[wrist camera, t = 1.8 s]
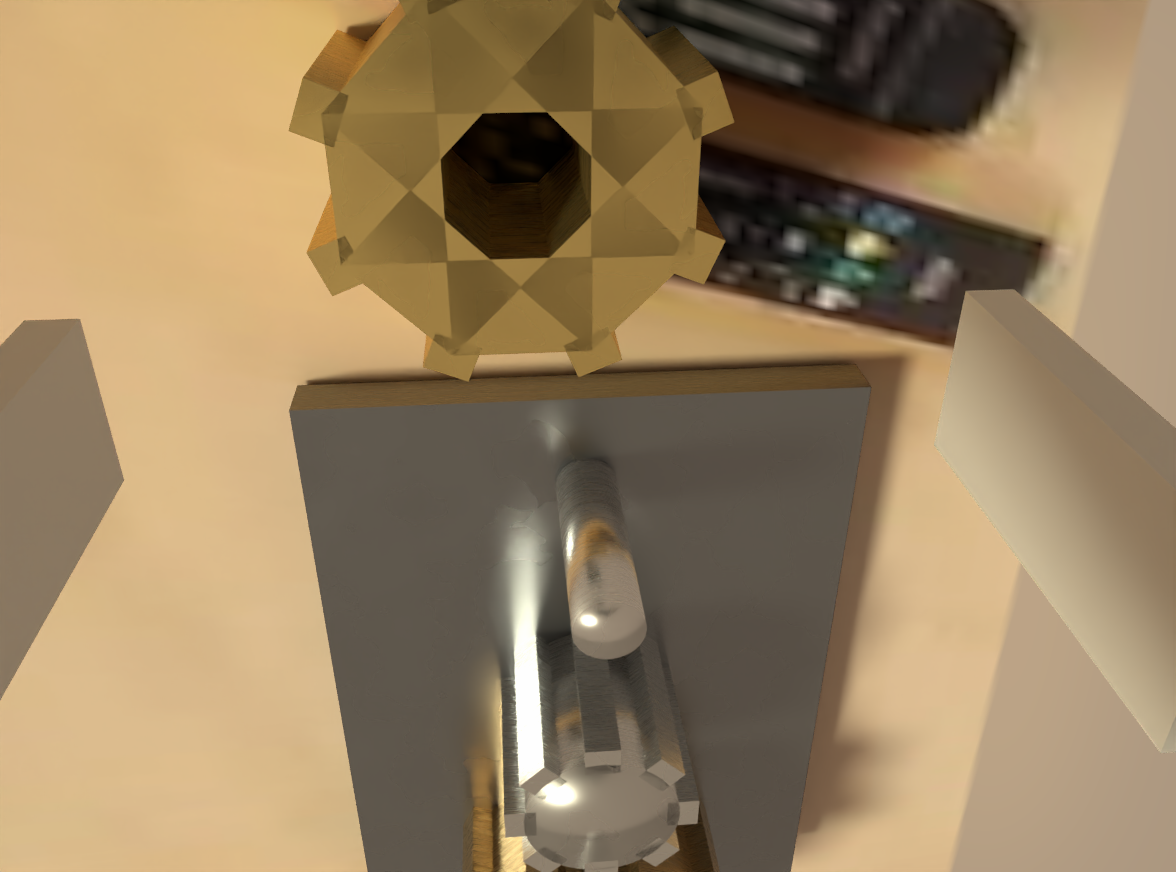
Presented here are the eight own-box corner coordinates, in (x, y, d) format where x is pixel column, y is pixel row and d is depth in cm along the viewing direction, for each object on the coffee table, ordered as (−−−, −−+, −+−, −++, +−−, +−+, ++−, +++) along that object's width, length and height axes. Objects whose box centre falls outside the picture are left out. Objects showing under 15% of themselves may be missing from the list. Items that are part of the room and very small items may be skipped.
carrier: (297, 385, 32) (241, 552, 25) (855, 364, 33) (960, 516, 26) (376, 870, 44) (355, 1078, 37) (781, 840, 46) (838, 1034, 38)
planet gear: (306, -74, 25) (262, -49, 20) (695, -76, 26) (747, -51, 21) (352, 293, 31) (326, 387, 25) (677, 282, 31) (715, 372, 26)
